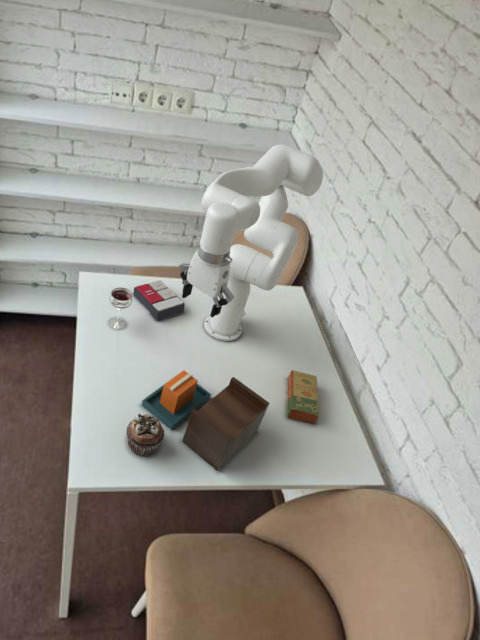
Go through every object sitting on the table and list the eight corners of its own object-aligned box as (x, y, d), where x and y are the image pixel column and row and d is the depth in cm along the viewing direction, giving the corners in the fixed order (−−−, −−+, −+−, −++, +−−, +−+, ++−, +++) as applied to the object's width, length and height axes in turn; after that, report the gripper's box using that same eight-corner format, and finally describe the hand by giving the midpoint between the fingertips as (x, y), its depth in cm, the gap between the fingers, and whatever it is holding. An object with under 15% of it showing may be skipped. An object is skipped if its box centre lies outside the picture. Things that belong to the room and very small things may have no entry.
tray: (180, 376, 157) (181, 371, 156) (209, 398, 153) (211, 394, 152) (141, 405, 146) (142, 400, 145) (171, 430, 142) (172, 425, 141)
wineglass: (132, 323, 171) (137, 294, 163) (119, 334, 166) (123, 304, 158) (115, 313, 173) (119, 284, 165) (102, 323, 168) (105, 294, 161)
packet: (178, 388, 153) (184, 367, 148) (192, 398, 151) (198, 378, 146) (159, 403, 147) (164, 382, 142) (173, 414, 145) (178, 393, 140)
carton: (312, 385, 165) (317, 375, 163) (314, 425, 153) (320, 415, 150) (286, 378, 165) (291, 369, 163) (286, 418, 153) (291, 408, 150)
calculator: (160, 278, 186) (185, 302, 177) (159, 288, 188) (183, 312, 180) (133, 285, 180) (158, 310, 171) (132, 295, 182) (156, 321, 174)
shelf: (222, 406, 152) (233, 376, 144) (256, 432, 147) (269, 402, 139) (182, 441, 140) (191, 411, 132) (217, 471, 135) (229, 441, 127)
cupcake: (165, 456, 135) (172, 432, 129) (128, 462, 132) (133, 437, 126) (156, 426, 142) (162, 401, 136) (120, 430, 139) (125, 405, 132)
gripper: (250, 264, 129) (234, 316, 140) (195, 230, 136) (184, 283, 147) (232, 275, 124) (217, 329, 135) (176, 240, 131) (166, 294, 142)
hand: (200, 305), depth 141 cm, fingers open, 9 cm apart
